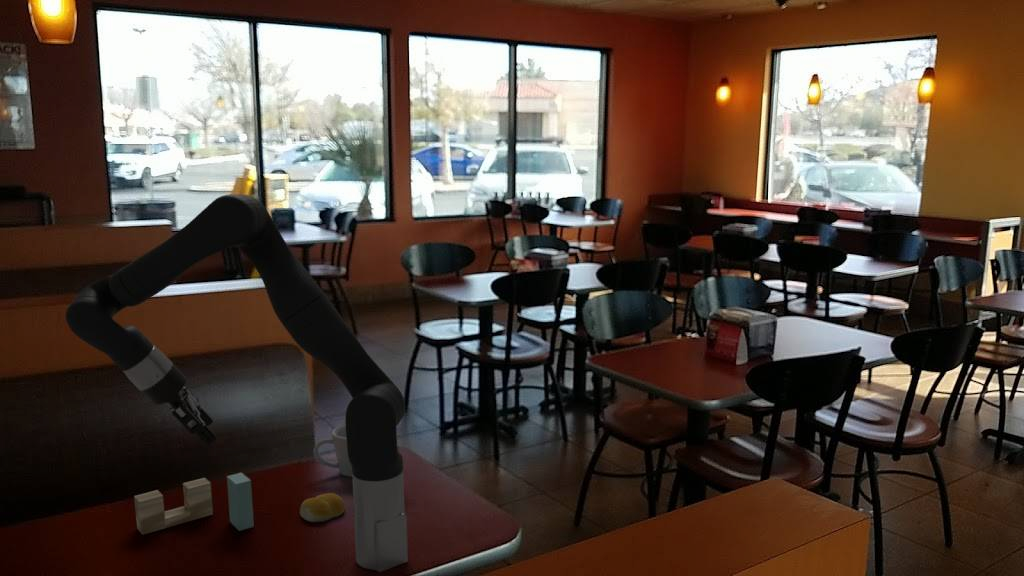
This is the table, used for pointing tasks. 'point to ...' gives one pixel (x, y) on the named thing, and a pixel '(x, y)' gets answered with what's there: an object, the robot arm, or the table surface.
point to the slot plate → (156, 518)
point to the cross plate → (240, 501)
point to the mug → (340, 449)
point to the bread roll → (322, 507)
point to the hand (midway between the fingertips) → (210, 432)
